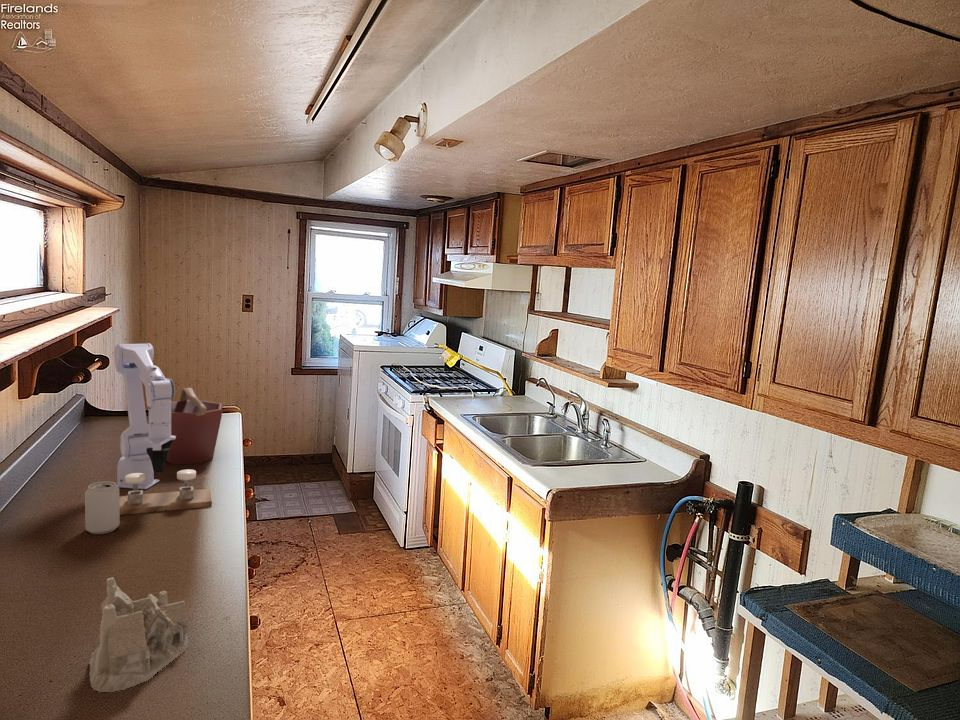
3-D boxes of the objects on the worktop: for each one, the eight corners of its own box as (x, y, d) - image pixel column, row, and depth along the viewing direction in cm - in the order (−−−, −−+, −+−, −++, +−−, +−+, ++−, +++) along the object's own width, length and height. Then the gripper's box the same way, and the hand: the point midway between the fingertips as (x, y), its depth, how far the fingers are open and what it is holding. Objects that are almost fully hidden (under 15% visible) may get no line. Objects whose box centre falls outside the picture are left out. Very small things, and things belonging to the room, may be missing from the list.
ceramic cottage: (80, 698, 97) (87, 606, 96) (94, 644, 111) (100, 564, 111) (189, 682, 104) (196, 596, 103) (188, 633, 118) (195, 558, 117)
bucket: (220, 466, 213) (221, 395, 210) (148, 469, 205) (148, 396, 202) (221, 447, 235) (222, 382, 232) (157, 449, 227) (157, 382, 224)
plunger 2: (176, 489, 175) (177, 475, 175) (176, 483, 180) (177, 470, 179) (196, 487, 177) (196, 474, 177) (195, 482, 182) (195, 468, 181)
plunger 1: (124, 493, 169) (124, 479, 169) (125, 487, 174) (125, 473, 173) (145, 491, 172) (145, 477, 171) (145, 486, 176) (145, 472, 176)
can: (126, 527, 160) (126, 482, 158) (100, 537, 153) (99, 491, 151) (105, 521, 162) (104, 477, 161) (78, 531, 155) (77, 486, 154)
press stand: (106, 516, 166) (106, 501, 165) (110, 501, 175) (110, 488, 175) (211, 506, 177) (211, 492, 177) (209, 493, 187) (209, 480, 186)
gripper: (172, 427, 169) (172, 475, 171) (178, 415, 183) (177, 459, 184) (144, 428, 167) (144, 476, 168) (151, 416, 180) (151, 460, 182)
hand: (160, 468), depth 176 cm, fingers open, 7 cm apart
